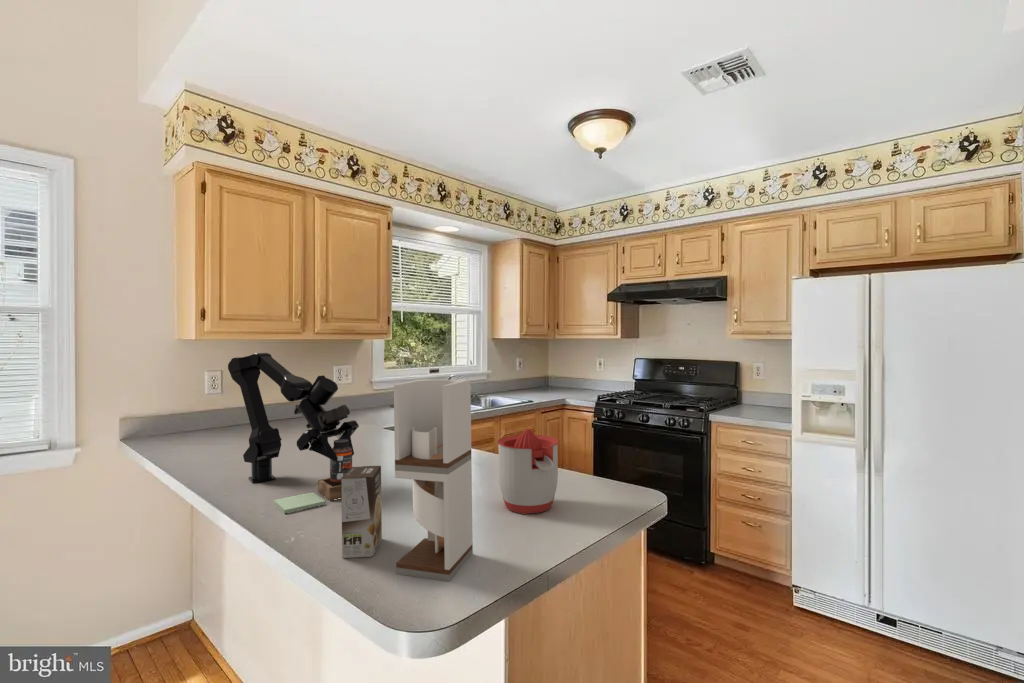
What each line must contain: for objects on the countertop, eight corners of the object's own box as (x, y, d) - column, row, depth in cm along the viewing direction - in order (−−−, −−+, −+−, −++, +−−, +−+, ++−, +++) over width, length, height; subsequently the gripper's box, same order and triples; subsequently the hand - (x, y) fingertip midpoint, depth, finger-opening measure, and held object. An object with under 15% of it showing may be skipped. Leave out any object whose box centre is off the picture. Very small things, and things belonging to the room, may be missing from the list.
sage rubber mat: (274, 503, 130) (274, 500, 130) (313, 495, 136) (312, 492, 136) (284, 514, 122) (284, 510, 122) (325, 504, 128) (325, 501, 128)
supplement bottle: (345, 484, 135) (344, 443, 135) (325, 482, 136) (325, 442, 136) (356, 477, 141) (356, 438, 140) (337, 476, 142) (337, 437, 142)
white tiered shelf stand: (424, 548, 102) (422, 379, 101) (472, 554, 98) (470, 380, 98) (396, 573, 91) (393, 384, 90) (449, 581, 88) (446, 385, 87)
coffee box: (374, 557, 98) (373, 477, 97) (341, 559, 97) (340, 478, 97) (382, 538, 107) (381, 464, 106) (352, 539, 106) (351, 465, 106)
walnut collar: (317, 492, 139) (317, 480, 139) (352, 485, 145) (352, 473, 145) (330, 501, 131) (330, 488, 131) (366, 493, 138) (365, 480, 138)
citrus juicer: (519, 525, 113) (518, 438, 113) (488, 502, 129) (487, 426, 129) (575, 513, 121) (574, 431, 120) (539, 493, 136) (538, 421, 136)
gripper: (303, 401, 131) (334, 446, 127) (353, 393, 148) (382, 432, 144) (283, 428, 135) (312, 472, 130) (334, 417, 152) (362, 456, 147)
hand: (344, 457), depth 138 cm, fingers closed on supplement bottle, 6 cm apart
